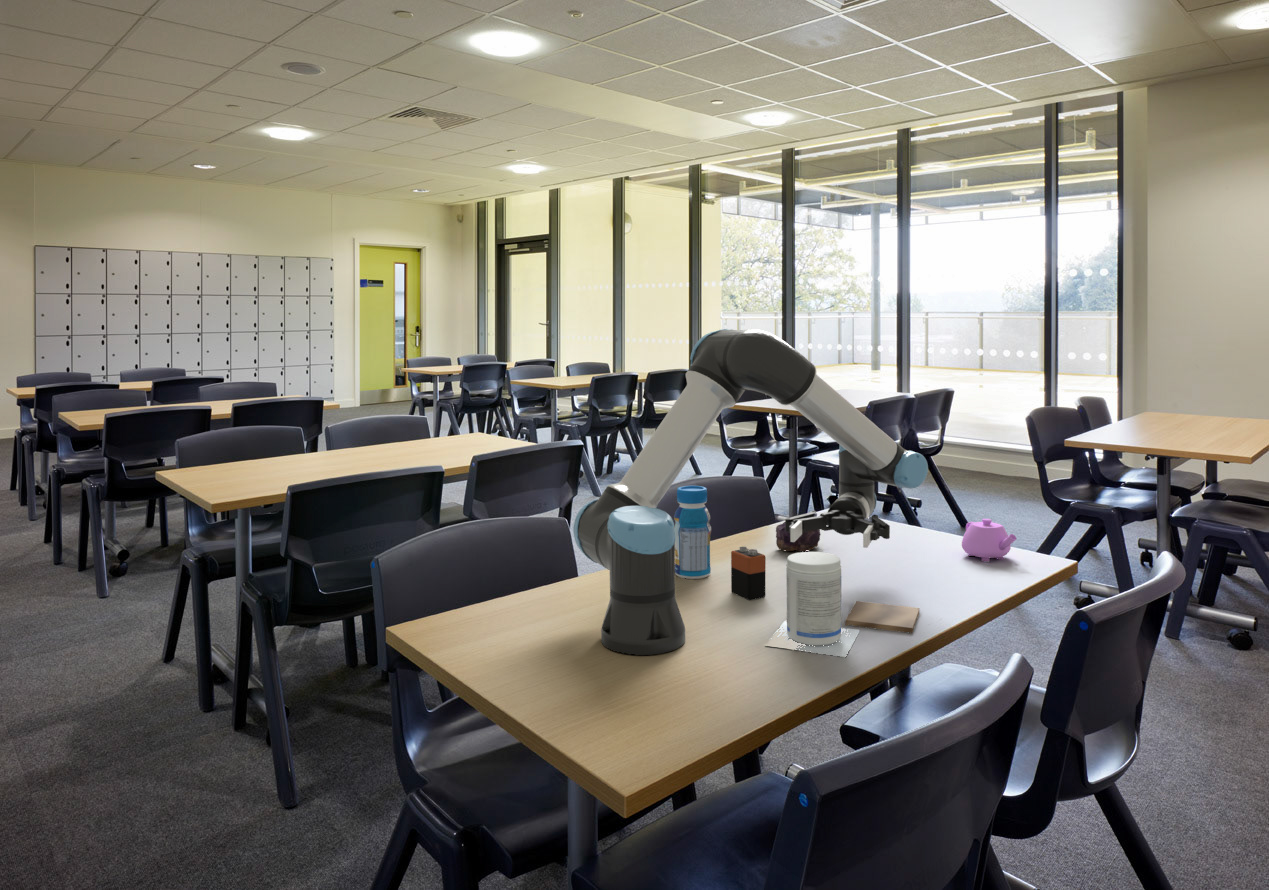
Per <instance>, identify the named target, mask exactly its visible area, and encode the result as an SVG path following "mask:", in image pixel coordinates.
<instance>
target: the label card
mask: <svg viewBox="0 0 1269 890" xmlns="http://www.w3.org/2000/svg"><path fill="white" fill-rule="evenodd" d="M779 627H780V628H779ZM779 627H778V628H779V629H781V630H780V631H779V632H781V633H780V634H779V635H778V636H777V637H779V636H780V635H781V634H782V632H785V631H786V632H785V633H784V634H783V635H782V636H787V637H786V638H788V637H789V636H788V634H786V633H787V620H784V621H782V623H781V625H780V626H779ZM782 627H783V628H782ZM778 628H777V629H776V631H775V632H774V634H775V633H776V632H778V630H779V629H778ZM841 628H842V629H843V628H844V627H841ZM783 629H784V630H783ZM847 629H849V630H848V632H847ZM847 629H846V631H845V633H844V631H843V632H842V634H841V637H840V639H839V640H838V641H837V642H834V643H832V644H833V645H832V644H828V645H824V646H823V645H819V646H815V647H814V645H813V646H812V645H810V646H809V645H806V644H805V645H806V646H803V645H801V646H800V645H798V646H800V647H802V646H803V647H802V648H800V647H799V648H796V649H797V650H799V649H800V650H799V651H798V652H801V650H803V651H805V650H806V651H805V652H804V653H808V652H810V651H811V654H816V653H818V655H823V654H826V655H825V656H830V655H833V656H832V657H837V656H840V657H839V658H845V657H846V656H848V655H846V654H849V653H848V651H849V650H850V651H851V648H852V647H853V645H854V643H855V641H856V639H857V636H858V635H859V633H860V632H861V630H860V629H855V628H847ZM850 629H851V630H850ZM846 633H849V634H848V636H847V637H846V636H845V635H847V634H846ZM850 633H851V634H850ZM849 635H850V637H849ZM786 638H785V639H786ZM770 639H772V638H771V637H770ZM785 639H784V640H785ZM789 639H791V638H790V637H789V638H788V639H787V640H786V641H788V640H789ZM839 641H840V642H839ZM841 642H842V643H841ZM797 643H798V642H797ZM847 644H848V645H847ZM849 645H850V646H849ZM798 646H797V647H798ZM828 646H829V647H828ZM804 647H805V648H804ZM794 650H795V649H794ZM794 650H793V651H794ZM850 651H849V652H850ZM846 658H847V657H846Z"/></svg>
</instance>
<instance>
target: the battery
mask: <svg viewBox="0 0 1269 890" xmlns="http://www.w3.org/2000/svg"><path fill="white" fill-rule="evenodd" d="M730 554H731V555H730V556H731V557H730V559H731V560H730V562H731V563H730V565H731V566H730V569H731V572H730V574H731V577H730V581H731V582H730V583H731V585H730V588H731V591H730V592H731V593H732V594H734V595H736V594H737V595H736V596H739V597H741V598H744V599H746V600H747V601H753V600H757V599H758V600H759V599H763V598H765V597H766V554H763V553H760V552H759V551H758V549H755V548H747V546H739V549H735V550H732V551H731V552H730Z"/></svg>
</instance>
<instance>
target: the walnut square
mask: <svg viewBox="0 0 1269 890" xmlns="http://www.w3.org/2000/svg"><path fill="white" fill-rule="evenodd" d="M919 615H920V607H915V606H906V605H905V606H904V605H895V604H887V603H879V602H878V603H877V602H869V601H861V600H856V601H855V603H854V604H853V606H852V607H851V610H850V611H849V613H848V614H847V616H846V618H845V621H844V623H845V626H849V625H853V626H852V627H857V626H860V627H859V628H865V627H867V628H866V629H873V628H876V629H875V630H881V629H883V630H882V631H891V632H898V631H900V632H899V633H906V632H909V633H908V634H914V629H915V626H916V624H917V621H918V618H919Z"/></svg>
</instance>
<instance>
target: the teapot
mask: <svg viewBox="0 0 1269 890" xmlns="http://www.w3.org/2000/svg"><path fill="white" fill-rule="evenodd" d="M1016 540H1017V536H1016V535H1014V533H1010V534H1008V533H1007V531H1006V529H1005V527H1004V525H1002V524H1000V523H998V522H993V519H991V518H982V519H981V521H976V522H975V521H969V522H967V523H966V525H965V532H964V534H963V537H962V540H961V548H962V549H963V551H964V553H966V554H967V555H968V556H975V557H977V558H978V557H979V558H981V559H980V560H982V562H984V561H989V562H990V560H991V559H993V558H995V559H996V558H998V559H997V560H1004V559H1005V556H1007V554H1009V553H1010V550H1011V546H1012V544H1013V543H1014V542H1015V541H1016ZM968 556H967V557H968Z"/></svg>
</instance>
